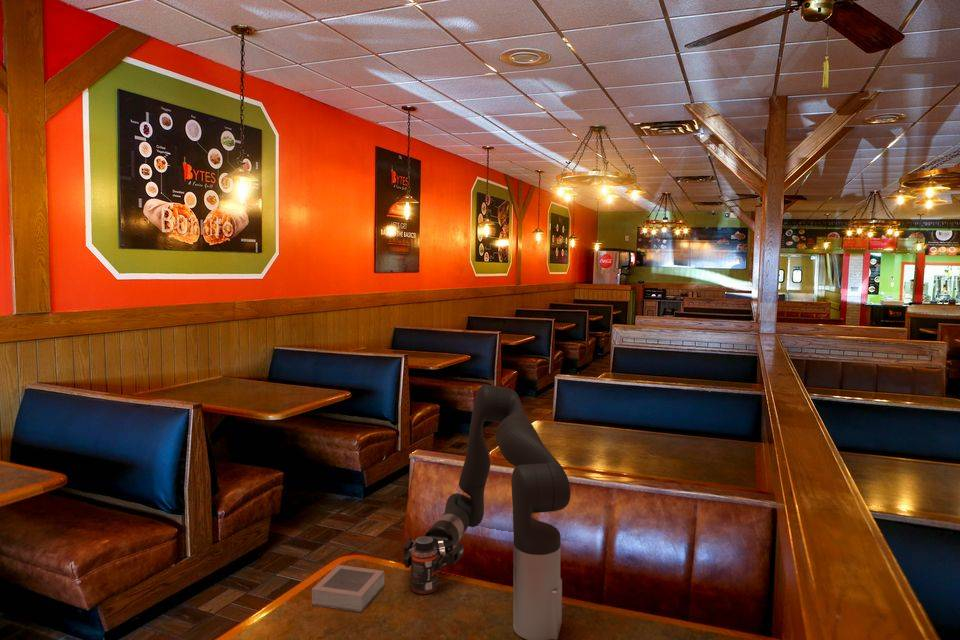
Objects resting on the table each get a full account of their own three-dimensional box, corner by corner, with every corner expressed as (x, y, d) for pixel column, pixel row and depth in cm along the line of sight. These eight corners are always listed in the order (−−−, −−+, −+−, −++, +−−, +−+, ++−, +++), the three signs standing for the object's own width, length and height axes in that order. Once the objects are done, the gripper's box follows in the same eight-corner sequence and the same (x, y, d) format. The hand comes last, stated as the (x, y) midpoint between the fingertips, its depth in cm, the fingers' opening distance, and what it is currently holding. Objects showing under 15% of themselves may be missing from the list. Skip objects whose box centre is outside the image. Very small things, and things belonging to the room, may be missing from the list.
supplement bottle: (436, 595, 139) (436, 545, 138) (409, 595, 139) (408, 545, 138) (439, 582, 145) (438, 534, 144) (413, 581, 145) (412, 533, 144)
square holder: (384, 585, 143) (384, 570, 143) (361, 612, 132) (361, 596, 132) (338, 579, 146) (337, 564, 146) (312, 604, 135) (311, 589, 135)
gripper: (417, 516, 157) (389, 545, 141) (473, 522, 153) (451, 552, 137) (417, 546, 157) (390, 577, 141) (473, 552, 154) (451, 586, 137)
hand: (420, 565), depth 139 cm, fingers closed on supplement bottle, 6 cm apart
